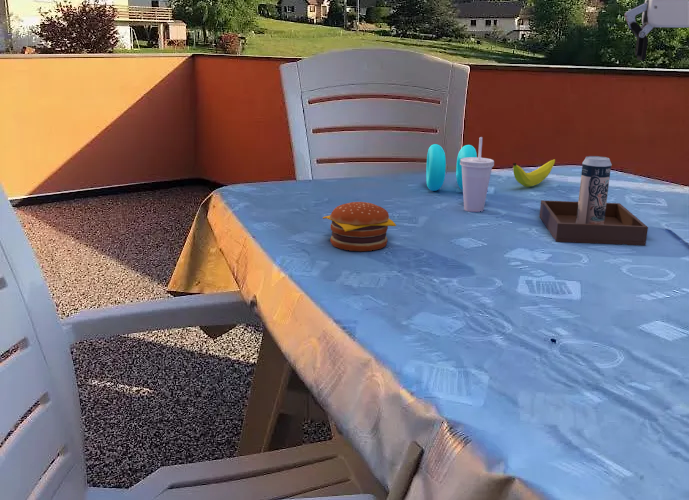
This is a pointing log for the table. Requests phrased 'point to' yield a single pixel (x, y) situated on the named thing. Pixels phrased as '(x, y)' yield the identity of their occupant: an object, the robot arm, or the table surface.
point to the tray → (592, 225)
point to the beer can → (593, 190)
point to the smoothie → (475, 180)
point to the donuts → (444, 165)
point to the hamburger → (359, 226)
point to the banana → (532, 174)
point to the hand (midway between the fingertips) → (667, 60)
